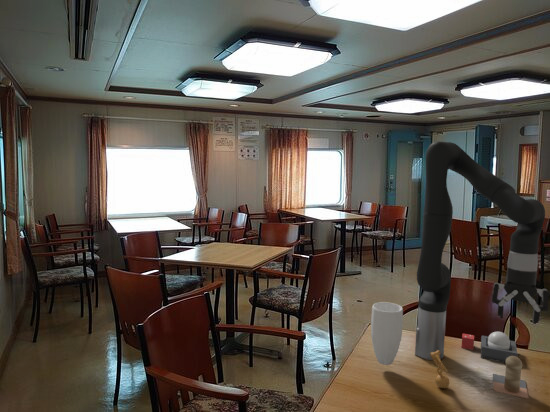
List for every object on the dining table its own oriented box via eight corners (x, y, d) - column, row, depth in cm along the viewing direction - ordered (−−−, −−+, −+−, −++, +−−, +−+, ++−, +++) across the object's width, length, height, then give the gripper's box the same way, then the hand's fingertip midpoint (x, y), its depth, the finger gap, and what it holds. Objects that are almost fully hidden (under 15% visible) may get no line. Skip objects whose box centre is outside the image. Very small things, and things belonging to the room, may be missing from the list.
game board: (493, 390, 125) (493, 389, 125) (492, 374, 135) (492, 373, 135) (528, 398, 121) (528, 397, 121) (524, 381, 131) (524, 380, 131)
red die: (461, 347, 155) (462, 336, 154) (461, 343, 158) (462, 332, 158) (473, 349, 153) (474, 338, 152) (473, 345, 156) (474, 334, 156)
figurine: (455, 394, 123) (458, 356, 121) (436, 395, 122) (439, 356, 121) (440, 380, 131) (443, 343, 130) (422, 381, 130) (425, 344, 129)
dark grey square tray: (480, 357, 147) (481, 346, 146) (480, 345, 157) (481, 335, 156) (516, 364, 142) (517, 353, 142) (514, 351, 152) (515, 341, 151)
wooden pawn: (503, 390, 125) (506, 358, 124) (503, 383, 129) (505, 352, 127) (520, 394, 123) (523, 361, 122) (519, 387, 127) (522, 355, 125)
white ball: (487, 352, 148) (488, 333, 147) (487, 345, 154) (488, 327, 153) (509, 357, 144) (511, 337, 144) (508, 349, 151) (510, 330, 150)
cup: (364, 373, 134) (367, 308, 132) (372, 359, 144) (375, 299, 141) (397, 381, 130) (400, 315, 127) (403, 367, 139) (407, 305, 136)
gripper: (495, 266, 122) (490, 319, 123) (552, 273, 115) (547, 329, 117) (494, 261, 128) (490, 311, 130) (549, 267, 122) (544, 320, 124)
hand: (517, 320), depth 124 cm, fingers open, 8 cm apart
